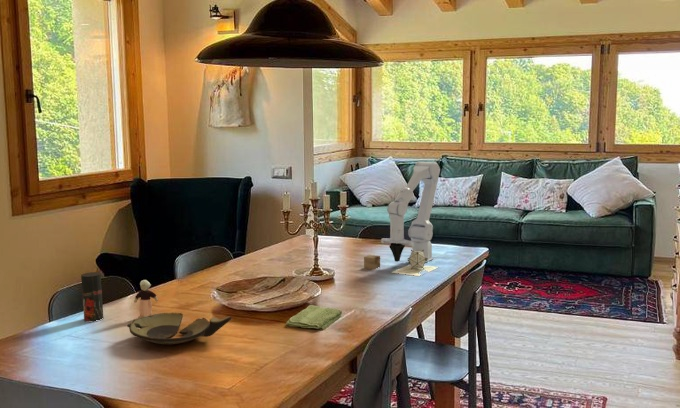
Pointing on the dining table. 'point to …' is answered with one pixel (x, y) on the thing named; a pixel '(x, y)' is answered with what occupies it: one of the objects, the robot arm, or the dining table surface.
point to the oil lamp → (173, 328)
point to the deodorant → (92, 296)
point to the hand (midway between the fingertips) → (397, 261)
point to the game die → (417, 259)
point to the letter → (413, 270)
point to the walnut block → (371, 262)
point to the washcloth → (315, 317)
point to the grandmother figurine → (145, 299)
